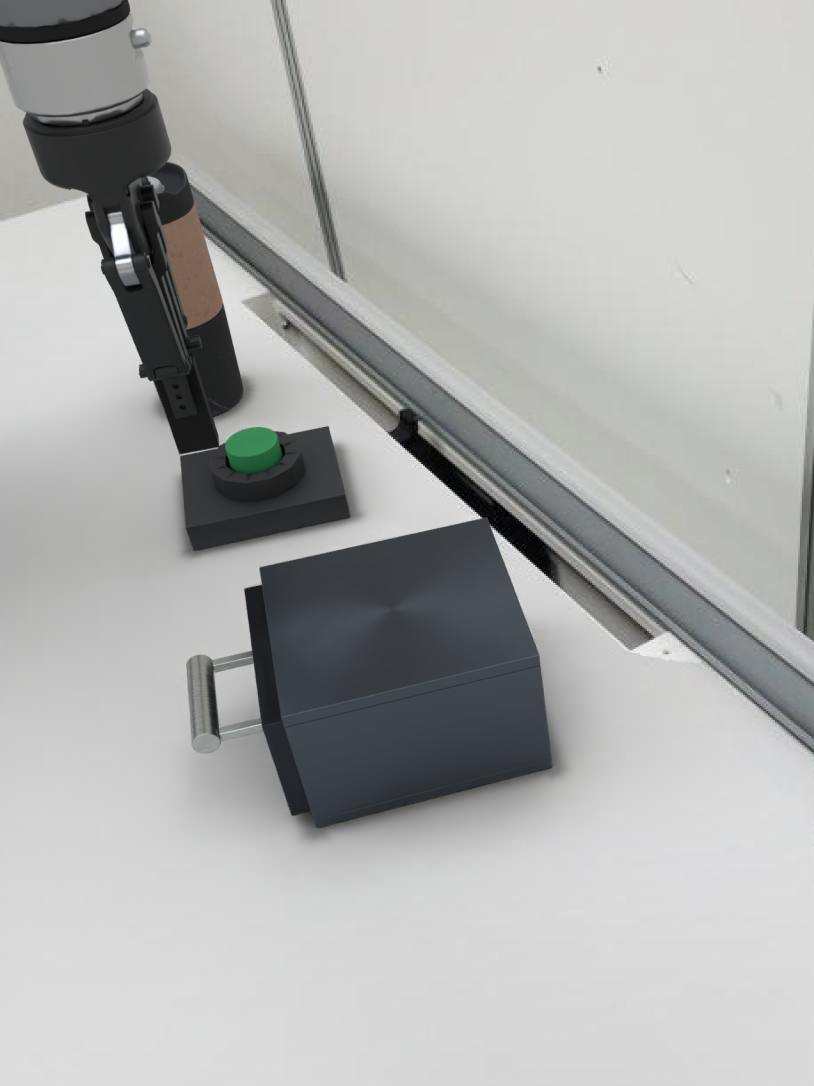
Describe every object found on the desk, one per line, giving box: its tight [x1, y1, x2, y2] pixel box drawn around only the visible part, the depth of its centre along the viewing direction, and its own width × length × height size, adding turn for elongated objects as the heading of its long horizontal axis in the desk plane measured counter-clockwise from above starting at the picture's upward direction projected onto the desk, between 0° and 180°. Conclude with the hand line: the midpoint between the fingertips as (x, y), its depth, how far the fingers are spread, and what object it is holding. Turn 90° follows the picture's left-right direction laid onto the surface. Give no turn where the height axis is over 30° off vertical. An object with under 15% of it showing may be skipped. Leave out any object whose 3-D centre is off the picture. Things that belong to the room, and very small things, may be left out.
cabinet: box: [258, 517, 553, 829], centre depth 79 cm, size 15×14×10 cm
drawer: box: [185, 584, 311, 817], centre depth 78 cm, size 18×12×8 cm
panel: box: [179, 425, 351, 551], centre depth 100 cm, size 12×10×4 cm
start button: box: [225, 426, 282, 473], centre depth 98 cm, size 4×4×2 cm
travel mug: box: [147, 161, 244, 417], centre depth 106 cm, size 8×8×20 cm
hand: (199, 444), depth 88 cm, fingers closed
